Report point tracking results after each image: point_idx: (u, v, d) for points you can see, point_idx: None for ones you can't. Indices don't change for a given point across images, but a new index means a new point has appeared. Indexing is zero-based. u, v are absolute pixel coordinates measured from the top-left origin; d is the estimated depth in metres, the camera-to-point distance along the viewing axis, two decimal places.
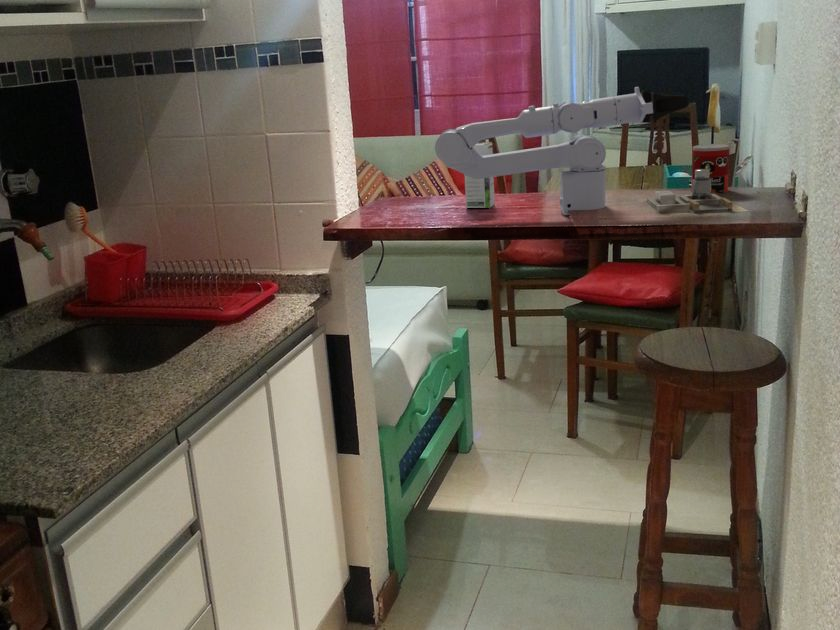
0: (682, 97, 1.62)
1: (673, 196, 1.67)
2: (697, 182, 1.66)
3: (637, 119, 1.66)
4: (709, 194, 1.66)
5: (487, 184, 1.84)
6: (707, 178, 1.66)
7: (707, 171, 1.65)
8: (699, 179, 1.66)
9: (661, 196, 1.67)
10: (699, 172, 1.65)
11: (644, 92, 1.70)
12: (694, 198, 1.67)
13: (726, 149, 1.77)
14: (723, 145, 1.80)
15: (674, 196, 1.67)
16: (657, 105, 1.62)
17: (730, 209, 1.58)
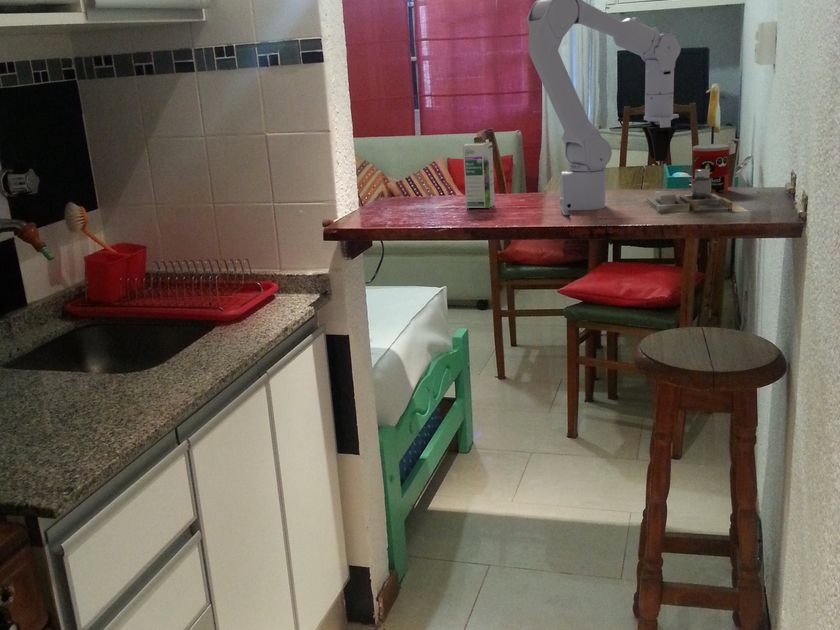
0: (665, 156, 1.72)
1: (673, 196, 1.67)
2: (697, 182, 1.66)
3: (649, 115, 1.71)
4: (709, 194, 1.66)
5: (487, 184, 1.84)
6: (707, 178, 1.66)
7: (707, 171, 1.65)
8: (699, 179, 1.66)
9: (661, 196, 1.67)
10: (699, 172, 1.65)
11: None
12: (694, 198, 1.67)
13: (726, 149, 1.77)
14: (723, 145, 1.80)
15: (674, 196, 1.67)
16: (662, 132, 1.71)
17: (730, 209, 1.58)
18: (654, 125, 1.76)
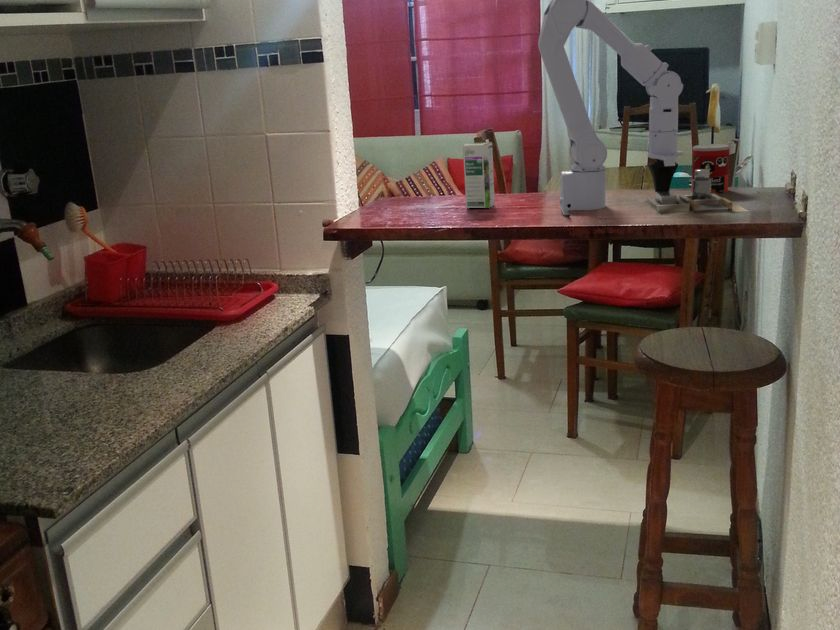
0: None
1: (674, 197, 1.66)
2: (697, 182, 1.66)
3: (653, 152, 1.69)
4: (709, 194, 1.66)
5: (487, 184, 1.84)
6: (707, 178, 1.66)
7: (707, 171, 1.65)
8: (699, 179, 1.66)
9: (662, 197, 1.66)
10: (699, 172, 1.65)
11: (674, 163, 1.71)
12: (694, 198, 1.67)
13: (726, 149, 1.77)
14: (723, 145, 1.80)
15: (675, 197, 1.66)
16: (663, 169, 1.70)
17: (730, 209, 1.58)
18: None
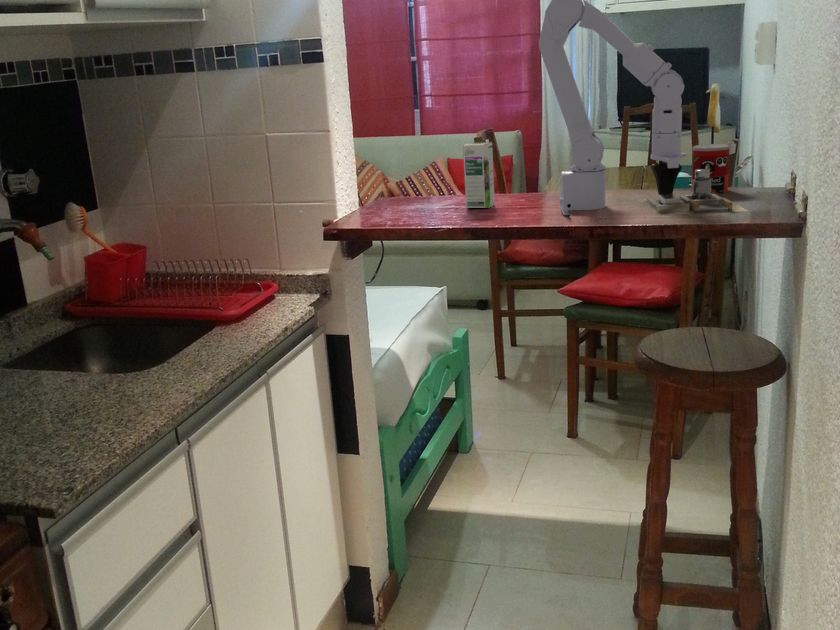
0: None
1: (678, 199, 1.63)
2: (697, 182, 1.66)
3: (656, 154, 1.66)
4: (709, 194, 1.66)
5: (487, 184, 1.84)
6: (707, 178, 1.66)
7: (707, 171, 1.65)
8: (699, 179, 1.66)
9: (665, 199, 1.63)
10: (699, 172, 1.65)
11: None
12: (694, 198, 1.67)
13: (725, 149, 1.77)
14: (723, 145, 1.80)
15: (679, 199, 1.63)
16: (667, 171, 1.67)
17: (730, 209, 1.58)
18: None
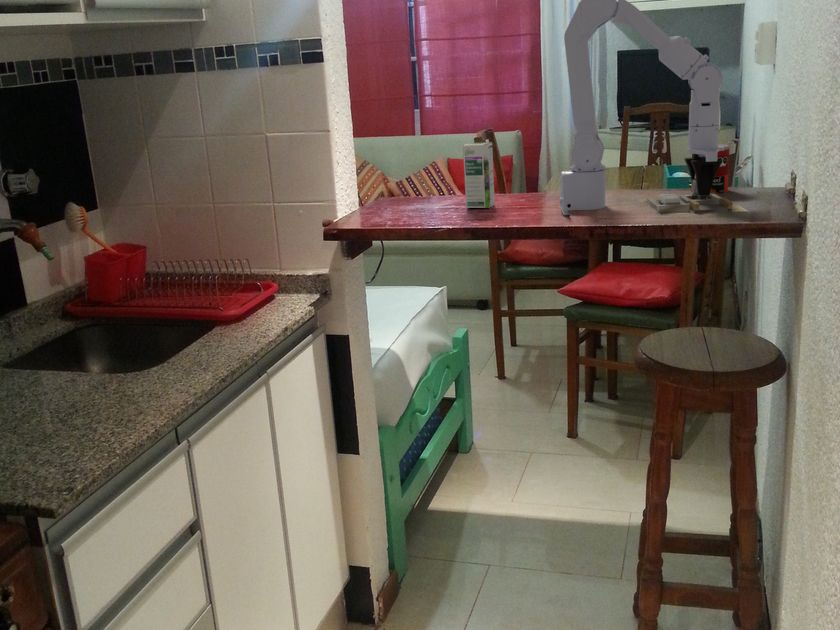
0: (709, 190, 1.65)
1: (678, 199, 1.63)
2: None
3: (693, 147, 1.63)
4: None
5: (487, 184, 1.84)
6: None
7: None
8: None
9: (665, 199, 1.63)
10: None
11: None
12: (694, 198, 1.67)
13: (725, 149, 1.77)
14: (723, 145, 1.80)
15: (679, 199, 1.63)
16: (706, 166, 1.63)
17: (730, 209, 1.58)
18: (698, 158, 1.68)
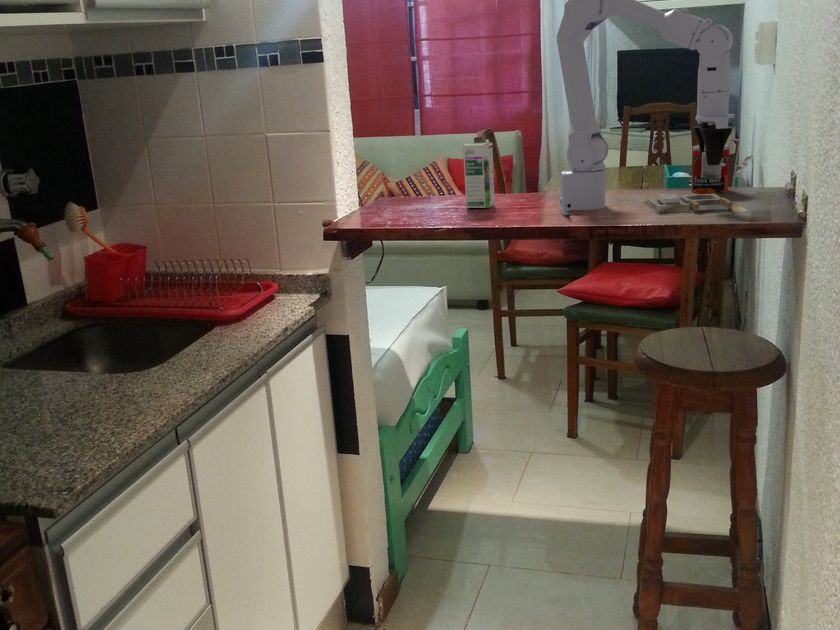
0: (719, 160, 1.57)
1: (678, 199, 1.63)
2: None
3: (702, 115, 1.56)
4: (719, 167, 1.59)
5: (487, 184, 1.84)
6: None
7: None
8: None
9: (665, 199, 1.63)
10: None
11: None
12: (704, 171, 1.60)
13: (725, 149, 1.77)
14: None
15: (679, 199, 1.63)
16: (716, 134, 1.56)
17: (730, 209, 1.58)
18: (707, 126, 1.60)
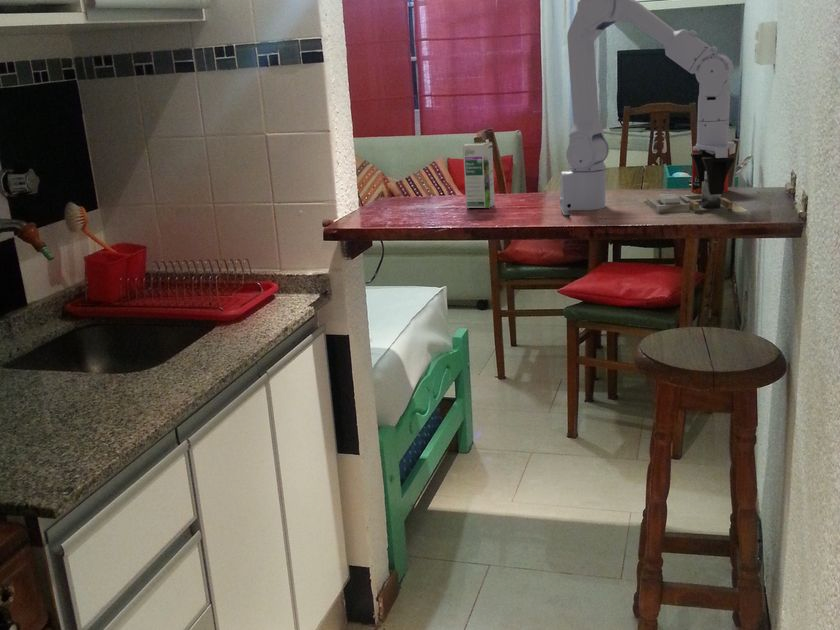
0: (721, 189, 1.56)
1: (678, 199, 1.63)
2: (706, 184, 1.59)
3: (702, 143, 1.56)
4: (719, 196, 1.60)
5: (487, 184, 1.84)
6: None
7: None
8: None
9: (665, 199, 1.63)
10: None
11: None
12: (703, 200, 1.60)
13: None
14: None
15: (679, 199, 1.63)
16: (718, 163, 1.55)
17: (730, 209, 1.58)
18: (705, 153, 1.62)
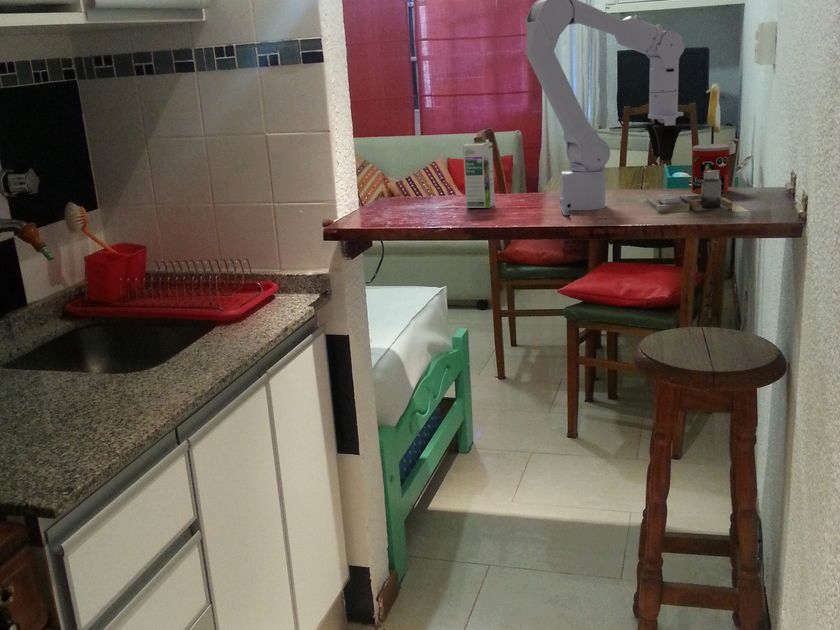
0: (671, 155, 1.69)
1: (678, 199, 1.63)
2: (705, 183, 1.59)
3: (653, 113, 1.69)
4: (719, 196, 1.59)
5: (487, 184, 1.84)
6: (716, 179, 1.59)
7: (716, 172, 1.58)
8: (708, 180, 1.59)
9: (665, 199, 1.63)
10: (708, 173, 1.59)
11: None
12: (703, 200, 1.60)
13: (725, 149, 1.77)
14: (723, 145, 1.80)
15: (679, 199, 1.63)
16: (667, 131, 1.68)
17: (730, 209, 1.58)
18: (657, 123, 1.75)
